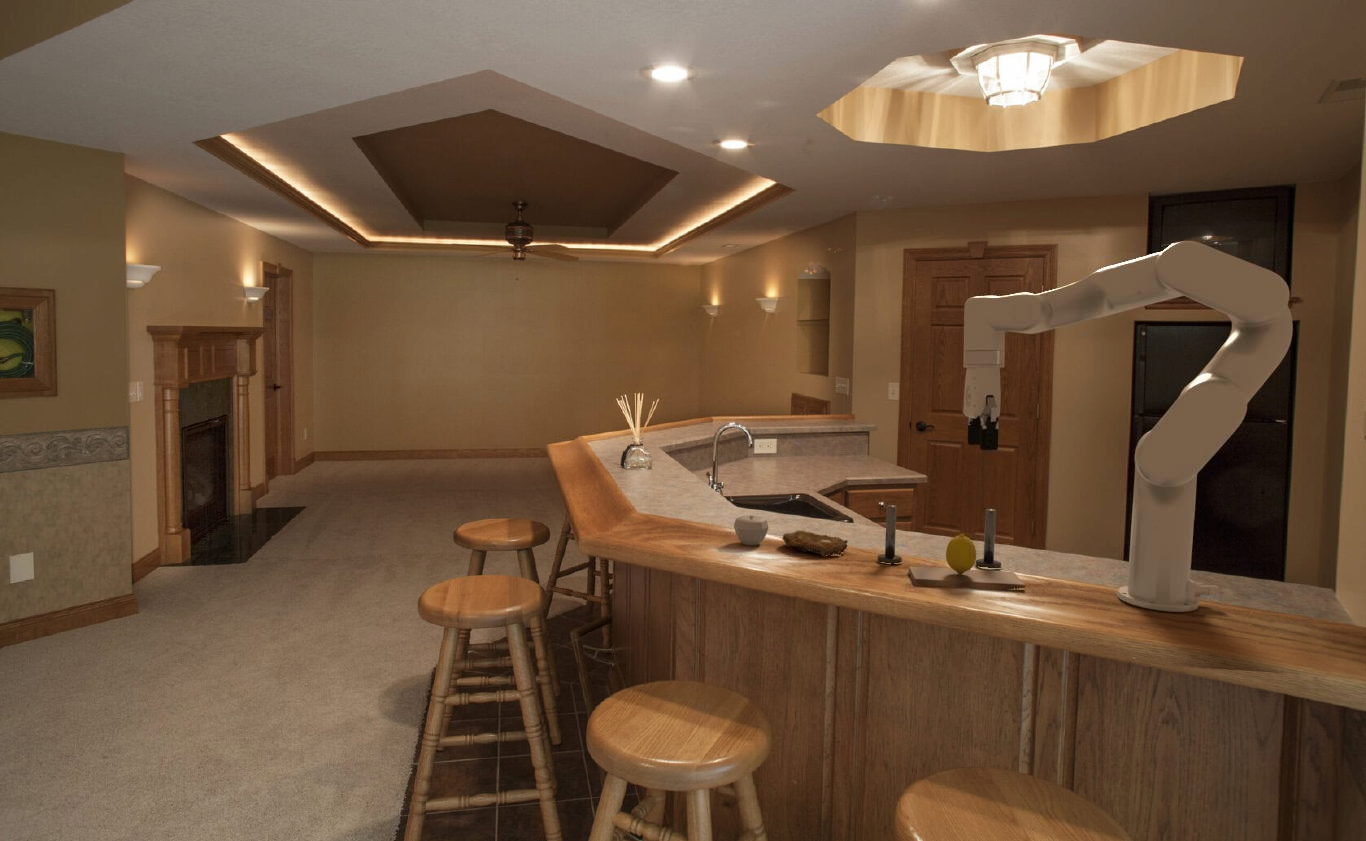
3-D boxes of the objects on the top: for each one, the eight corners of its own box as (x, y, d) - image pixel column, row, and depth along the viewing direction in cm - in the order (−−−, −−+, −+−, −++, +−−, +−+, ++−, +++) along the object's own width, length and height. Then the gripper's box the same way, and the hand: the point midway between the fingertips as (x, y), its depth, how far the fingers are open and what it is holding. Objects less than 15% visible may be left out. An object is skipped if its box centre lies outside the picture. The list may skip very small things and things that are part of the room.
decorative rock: (770, 553, 179) (835, 565, 172) (771, 535, 178) (836, 547, 171) (790, 540, 189) (852, 551, 181) (791, 523, 188) (853, 534, 181)
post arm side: (997, 564, 170) (1000, 508, 169) (1003, 570, 165) (1006, 512, 164) (973, 563, 171) (975, 507, 170) (978, 569, 166) (980, 511, 165)
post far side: (900, 559, 173) (902, 504, 172) (903, 565, 168) (905, 508, 167) (876, 558, 174) (878, 503, 172) (878, 564, 169) (880, 507, 168)
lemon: (977, 579, 154) (979, 538, 153) (946, 577, 155) (948, 536, 154) (972, 571, 159) (974, 532, 159) (943, 569, 160) (945, 530, 160)
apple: (748, 550, 179) (749, 520, 179) (726, 542, 186) (726, 514, 185) (775, 545, 184) (776, 516, 183) (752, 538, 190) (753, 510, 190)
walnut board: (1012, 577, 160) (1012, 571, 160) (1024, 590, 151) (1025, 584, 151) (908, 572, 163) (908, 566, 163) (914, 584, 154) (915, 578, 154)
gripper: (954, 360, 167) (952, 442, 168) (975, 360, 150) (973, 452, 151) (991, 359, 166) (990, 442, 167) (1017, 360, 149) (1015, 452, 150)
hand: (982, 447), depth 159 cm, fingers open, 9 cm apart
